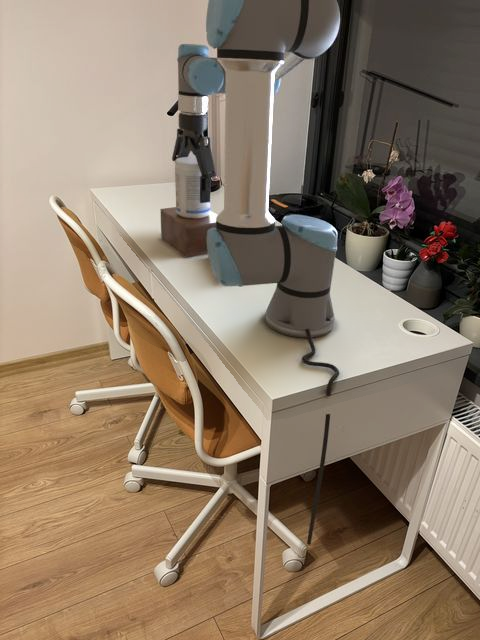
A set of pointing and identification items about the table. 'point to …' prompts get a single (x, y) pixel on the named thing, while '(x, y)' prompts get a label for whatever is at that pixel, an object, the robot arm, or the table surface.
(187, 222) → the lid
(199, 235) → the chest
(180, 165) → the supplement tub
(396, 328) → the table surface
